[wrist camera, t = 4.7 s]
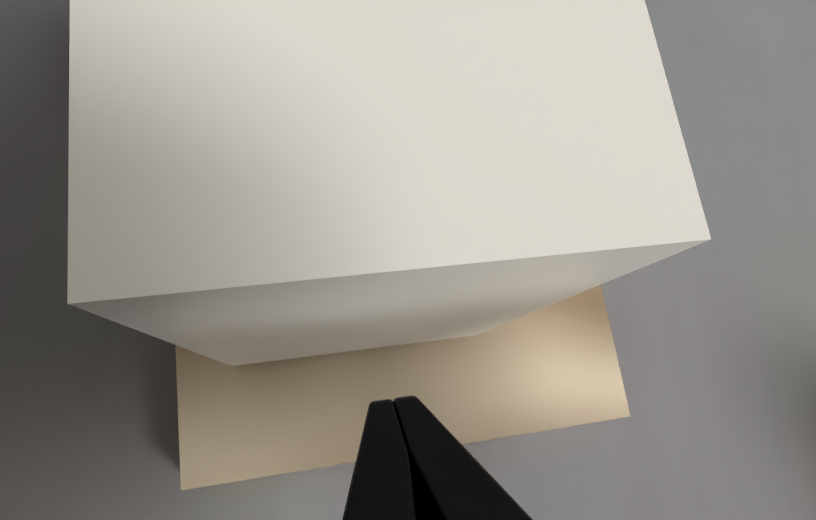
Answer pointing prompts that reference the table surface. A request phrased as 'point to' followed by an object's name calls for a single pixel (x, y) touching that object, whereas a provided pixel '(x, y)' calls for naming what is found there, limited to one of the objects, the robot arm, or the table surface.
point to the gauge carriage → (363, 167)
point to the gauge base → (397, 393)
